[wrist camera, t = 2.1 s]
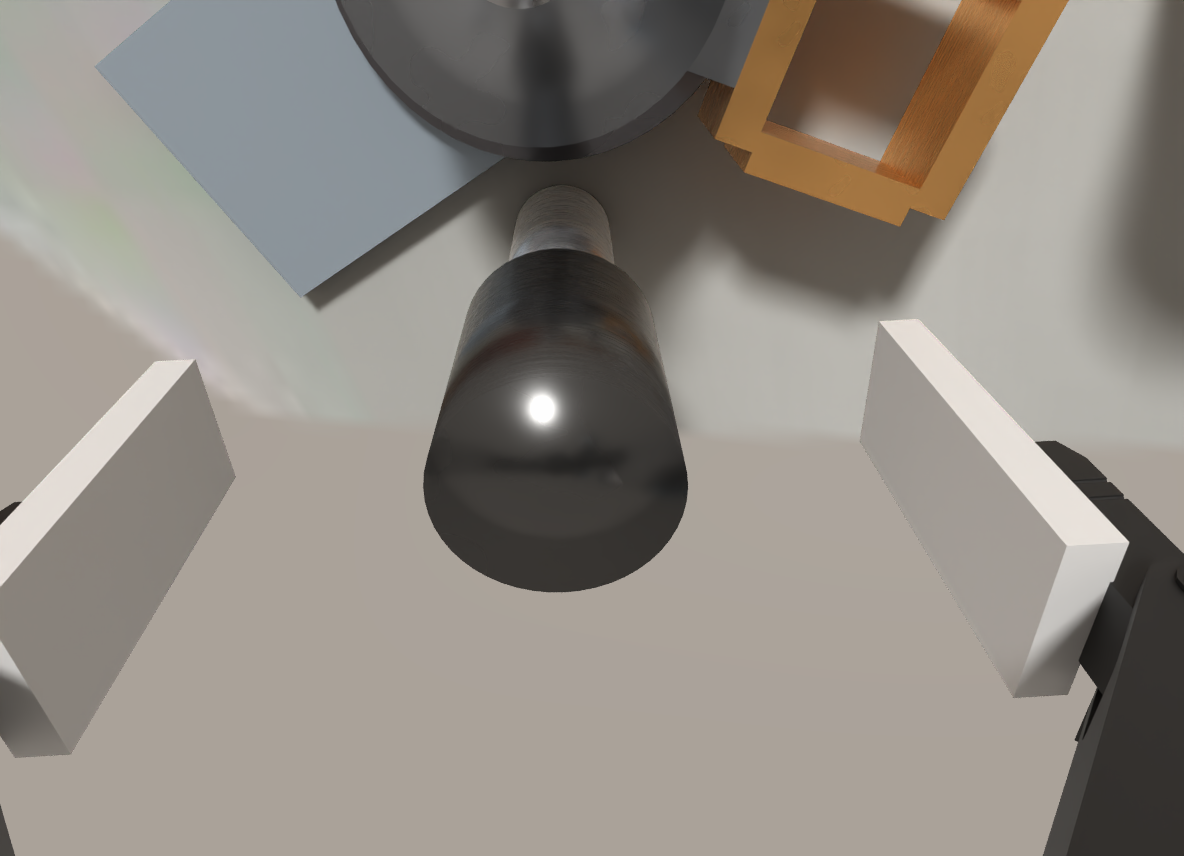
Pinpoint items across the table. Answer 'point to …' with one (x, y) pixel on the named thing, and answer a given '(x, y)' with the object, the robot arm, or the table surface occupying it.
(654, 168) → the table surface
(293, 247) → the key mat
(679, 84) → the dark grey disc
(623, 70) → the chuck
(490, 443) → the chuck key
